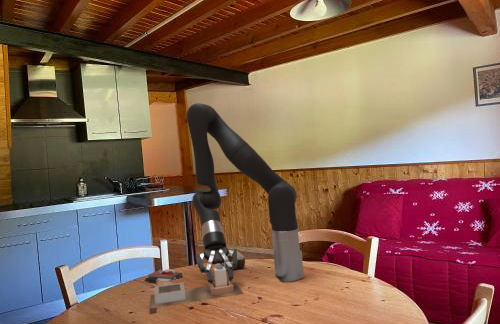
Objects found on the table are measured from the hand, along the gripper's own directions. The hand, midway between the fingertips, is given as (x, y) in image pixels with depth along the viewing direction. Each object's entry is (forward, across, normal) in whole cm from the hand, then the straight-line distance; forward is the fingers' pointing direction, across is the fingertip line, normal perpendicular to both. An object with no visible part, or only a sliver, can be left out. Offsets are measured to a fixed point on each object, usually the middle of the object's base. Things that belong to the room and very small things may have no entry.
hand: (221, 281), depth 119 cm
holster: (+1, 0, +4) cm, 4 cm away
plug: (+1, 0, +4) cm, 4 cm away
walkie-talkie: (-13, -15, +21) cm, 29 cm away
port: (+1, -16, +4) cm, 16 cm away
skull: (-16, +9, +24) cm, 30 cm away
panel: (+2, -8, +5) cm, 10 cm away
